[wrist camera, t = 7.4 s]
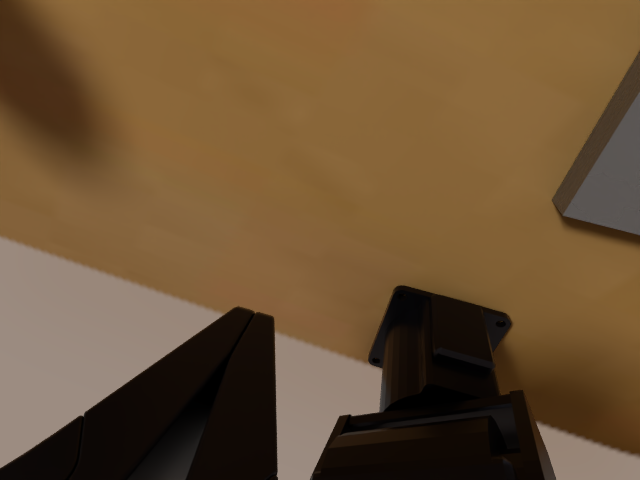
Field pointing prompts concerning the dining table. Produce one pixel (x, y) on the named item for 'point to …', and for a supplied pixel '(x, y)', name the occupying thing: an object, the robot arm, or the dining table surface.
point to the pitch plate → (609, 165)
